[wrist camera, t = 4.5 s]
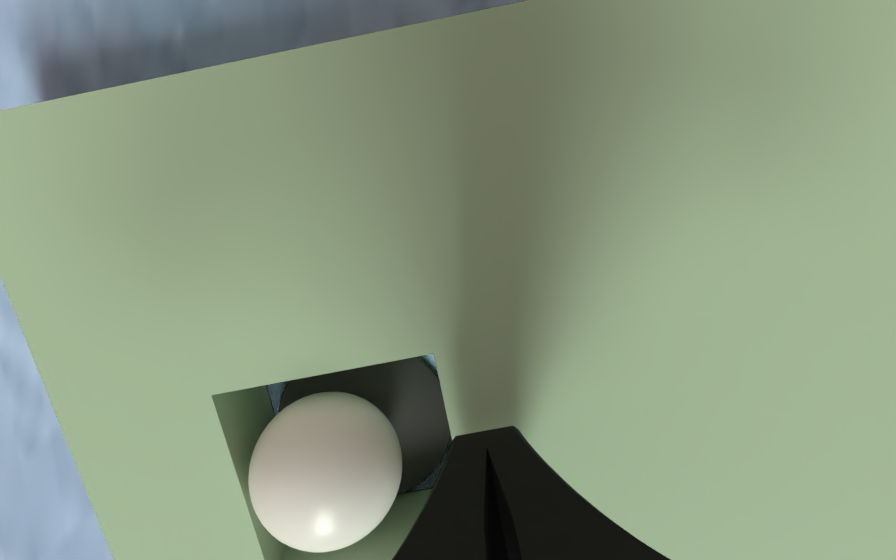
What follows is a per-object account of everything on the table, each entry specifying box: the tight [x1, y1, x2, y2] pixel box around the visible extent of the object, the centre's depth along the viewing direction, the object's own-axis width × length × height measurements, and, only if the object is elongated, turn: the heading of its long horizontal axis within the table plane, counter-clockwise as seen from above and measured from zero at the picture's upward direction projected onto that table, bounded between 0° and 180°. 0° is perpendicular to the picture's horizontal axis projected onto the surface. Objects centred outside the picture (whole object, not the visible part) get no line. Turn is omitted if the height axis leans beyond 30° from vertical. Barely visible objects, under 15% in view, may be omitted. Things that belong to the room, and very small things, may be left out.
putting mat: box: [0, 0, 896, 560], centre depth 12 cm, size 20×18×2 cm
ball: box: [248, 392, 402, 552], centre depth 11 cm, size 4×4×4 cm
